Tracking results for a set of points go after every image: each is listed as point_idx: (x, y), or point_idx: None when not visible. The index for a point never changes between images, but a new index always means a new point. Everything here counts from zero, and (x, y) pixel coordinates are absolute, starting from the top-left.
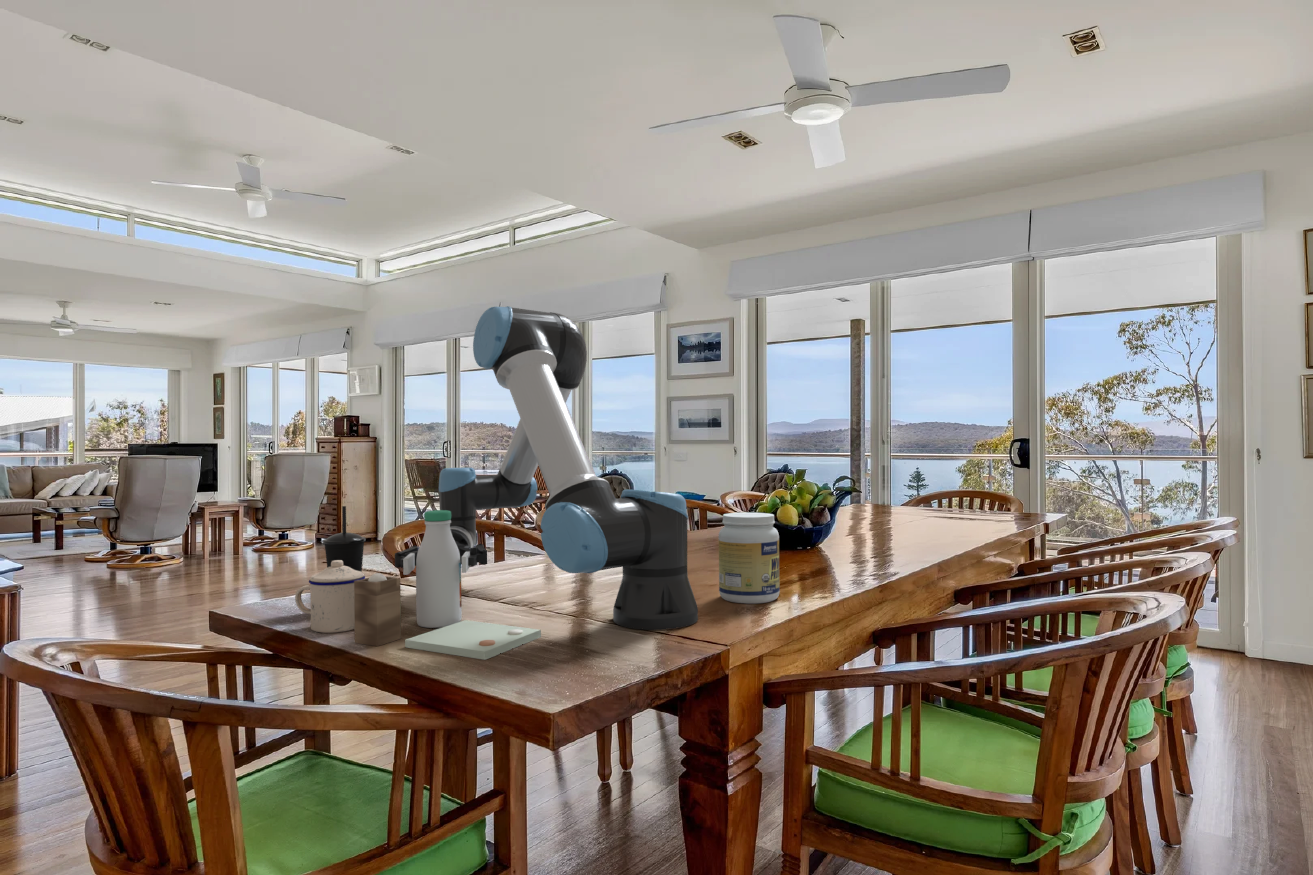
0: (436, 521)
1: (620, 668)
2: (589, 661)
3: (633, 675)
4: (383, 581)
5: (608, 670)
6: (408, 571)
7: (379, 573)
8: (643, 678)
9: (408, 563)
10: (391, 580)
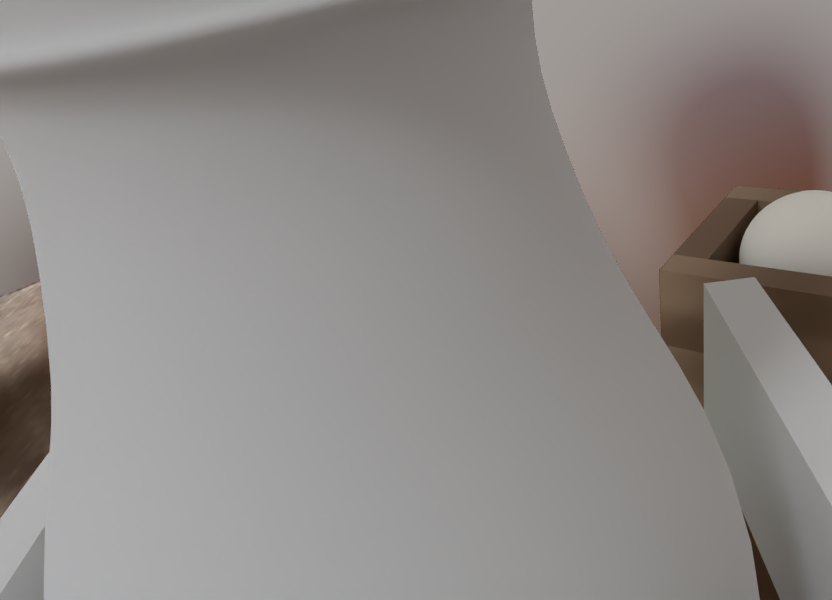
0: (253, 16)
1: (9, 325)
2: (37, 354)
3: (17, 300)
4: (720, 209)
5: (40, 316)
6: (711, 418)
7: (797, 198)
8: (13, 292)
9: (713, 352)
10: (691, 237)
